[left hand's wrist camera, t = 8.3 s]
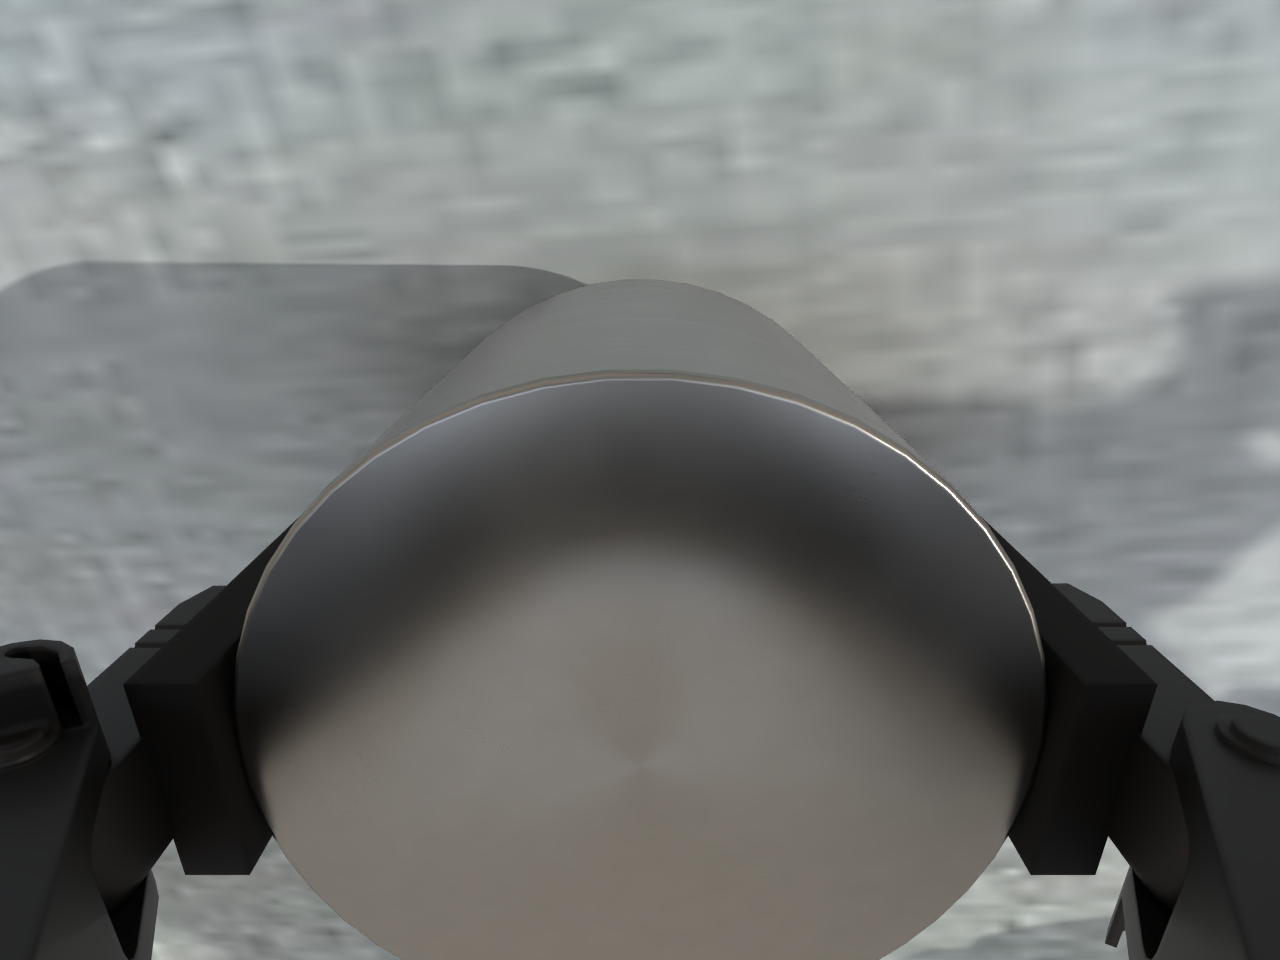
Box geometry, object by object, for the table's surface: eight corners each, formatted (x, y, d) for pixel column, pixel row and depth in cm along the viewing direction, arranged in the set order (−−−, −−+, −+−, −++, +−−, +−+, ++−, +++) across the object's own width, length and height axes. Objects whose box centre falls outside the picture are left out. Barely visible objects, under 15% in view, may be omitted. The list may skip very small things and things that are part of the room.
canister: (522, 722, 17) (442, 1078, 10) (344, 369, 14) (54, 541, 7) (896, 618, 16) (1091, 939, 9) (798, 208, 13) (982, 225, 6)
